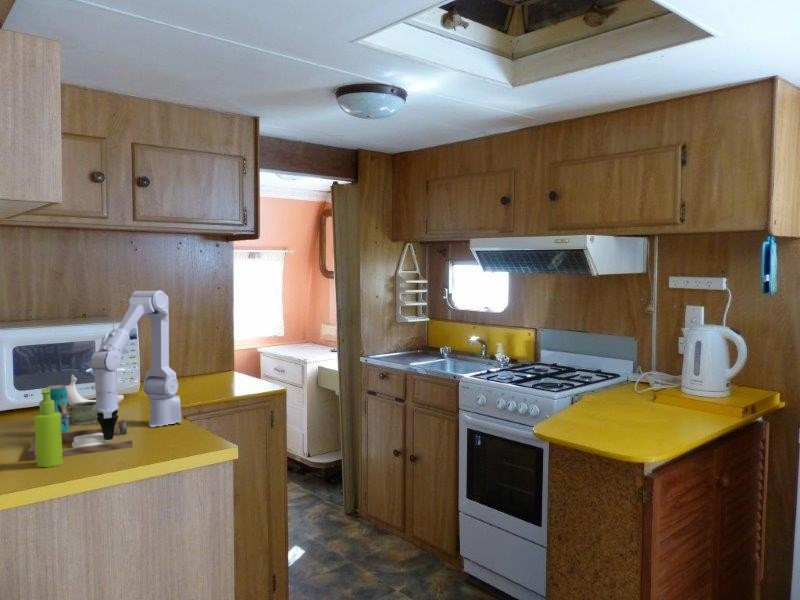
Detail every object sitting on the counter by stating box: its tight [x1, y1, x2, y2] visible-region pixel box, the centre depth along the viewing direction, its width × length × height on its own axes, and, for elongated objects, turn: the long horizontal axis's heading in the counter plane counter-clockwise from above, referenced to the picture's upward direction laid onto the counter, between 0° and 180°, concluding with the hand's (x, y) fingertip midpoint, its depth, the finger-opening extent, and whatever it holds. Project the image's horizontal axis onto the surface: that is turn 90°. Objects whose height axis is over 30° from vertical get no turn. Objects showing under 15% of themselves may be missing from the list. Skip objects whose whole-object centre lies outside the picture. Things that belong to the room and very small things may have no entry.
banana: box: [66, 374, 125, 406], centre depth 222 cm, size 5×19×15 cm, turn 120°
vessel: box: [68, 401, 99, 426], centre depth 207 cm, size 12×9×6 cm
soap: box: [71, 433, 108, 448], centre depth 179 cm, size 9×7×3 cm
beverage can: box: [46, 384, 70, 433], centre depth 191 cm, size 6×6×15 cm
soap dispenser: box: [34, 387, 64, 468], centre depth 160 cm, size 6×7×20 cm
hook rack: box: [27, 421, 133, 461], centre depth 178 cm, size 26×19×4 cm
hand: (108, 437), depth 181 cm, fingers open, 4 cm apart
